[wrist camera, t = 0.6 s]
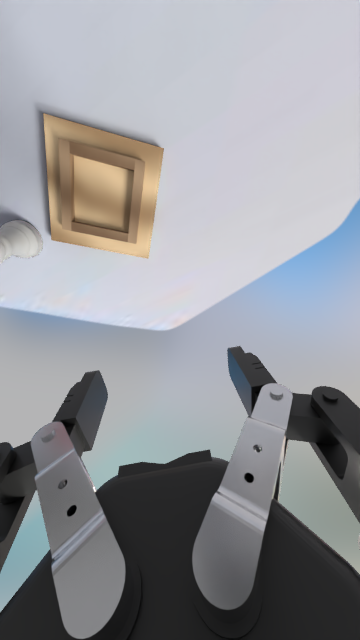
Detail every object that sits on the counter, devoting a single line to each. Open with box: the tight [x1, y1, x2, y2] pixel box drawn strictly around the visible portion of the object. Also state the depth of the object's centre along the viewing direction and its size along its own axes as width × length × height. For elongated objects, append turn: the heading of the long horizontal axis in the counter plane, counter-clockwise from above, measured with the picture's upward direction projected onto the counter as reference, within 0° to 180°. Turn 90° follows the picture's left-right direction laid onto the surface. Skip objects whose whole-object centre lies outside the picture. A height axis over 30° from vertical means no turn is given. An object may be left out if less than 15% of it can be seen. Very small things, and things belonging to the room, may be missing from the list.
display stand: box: [43, 113, 164, 258], centre depth 25 cm, size 12×12×2 cm
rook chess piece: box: [0, 220, 43, 264], centre depth 23 cm, size 4×4×8 cm
